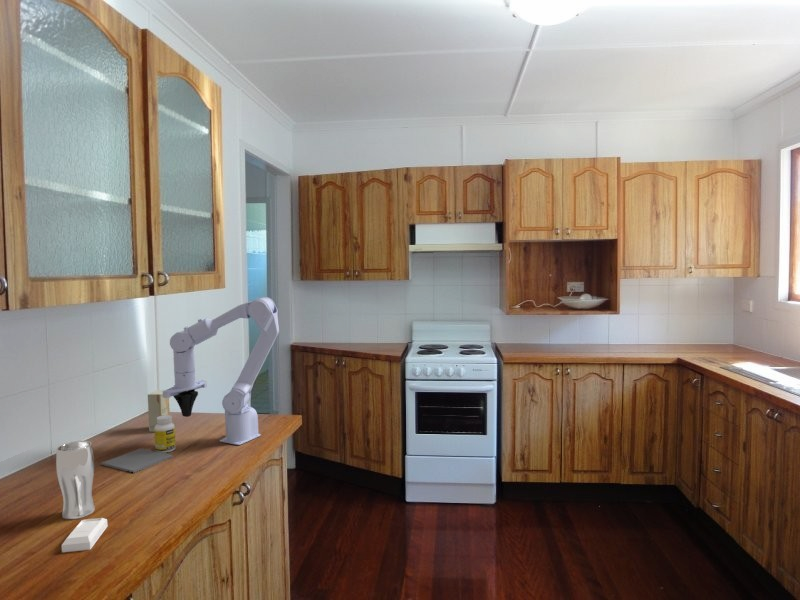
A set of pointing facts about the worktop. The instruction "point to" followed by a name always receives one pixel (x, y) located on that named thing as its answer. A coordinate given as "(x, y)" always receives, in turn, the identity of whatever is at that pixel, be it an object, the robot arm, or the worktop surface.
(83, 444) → the beer glass
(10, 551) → the worktop surface
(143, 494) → the worktop surface
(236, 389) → the robot arm
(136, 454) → the mat
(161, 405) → the skincare box
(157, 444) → the supplement bottle
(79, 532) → the soap bar
